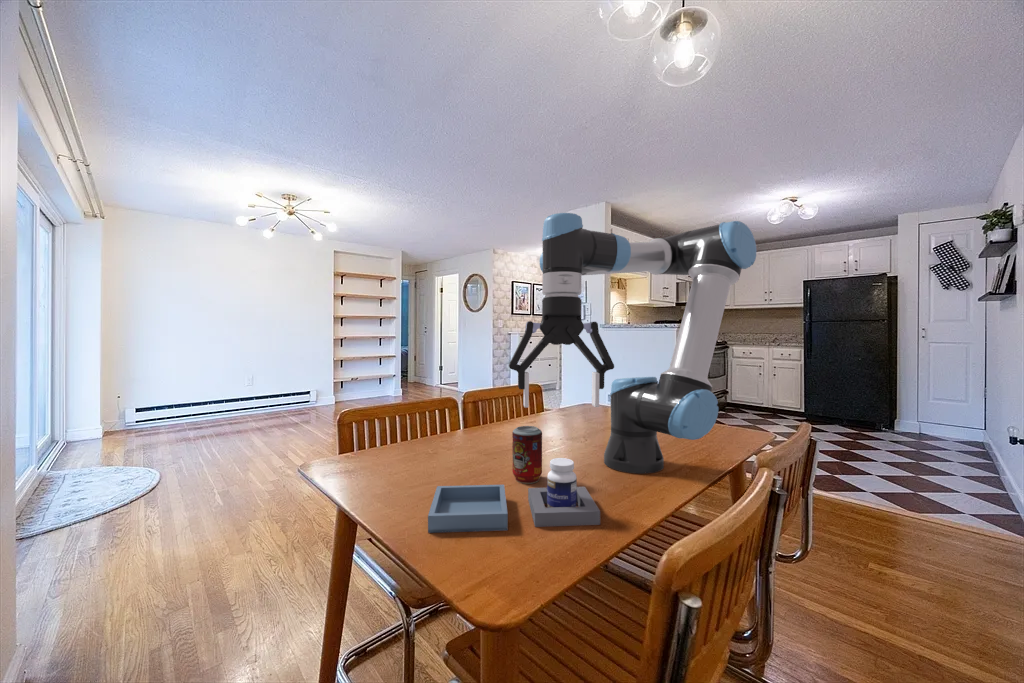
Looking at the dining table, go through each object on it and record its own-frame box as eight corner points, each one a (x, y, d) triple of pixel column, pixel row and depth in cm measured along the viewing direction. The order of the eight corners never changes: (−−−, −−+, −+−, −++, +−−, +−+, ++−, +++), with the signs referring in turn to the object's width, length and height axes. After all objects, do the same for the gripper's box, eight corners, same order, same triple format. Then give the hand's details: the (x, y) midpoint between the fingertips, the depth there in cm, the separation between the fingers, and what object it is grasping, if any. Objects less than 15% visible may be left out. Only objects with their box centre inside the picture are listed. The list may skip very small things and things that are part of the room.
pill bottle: (542, 514, 81) (542, 463, 80) (553, 503, 86) (553, 455, 86) (570, 520, 78) (570, 467, 78) (580, 509, 83) (580, 459, 83)
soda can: (506, 481, 98) (507, 429, 98) (521, 472, 104) (521, 423, 104) (534, 487, 95) (534, 433, 94) (546, 477, 101) (547, 426, 101)
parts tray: (504, 498, 88) (504, 484, 88) (507, 530, 74) (507, 513, 74) (437, 500, 87) (437, 486, 87) (428, 532, 73) (427, 516, 73)
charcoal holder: (584, 498, 88) (584, 486, 88) (600, 524, 76) (600, 511, 76) (528, 499, 88) (528, 488, 87) (534, 526, 76) (534, 513, 76)
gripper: (497, 294, 76) (497, 410, 77) (631, 295, 78) (630, 409, 78) (496, 297, 84) (496, 403, 84) (619, 298, 85) (617, 402, 86)
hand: (560, 406), depth 81 cm, fingers open, 13 cm apart
